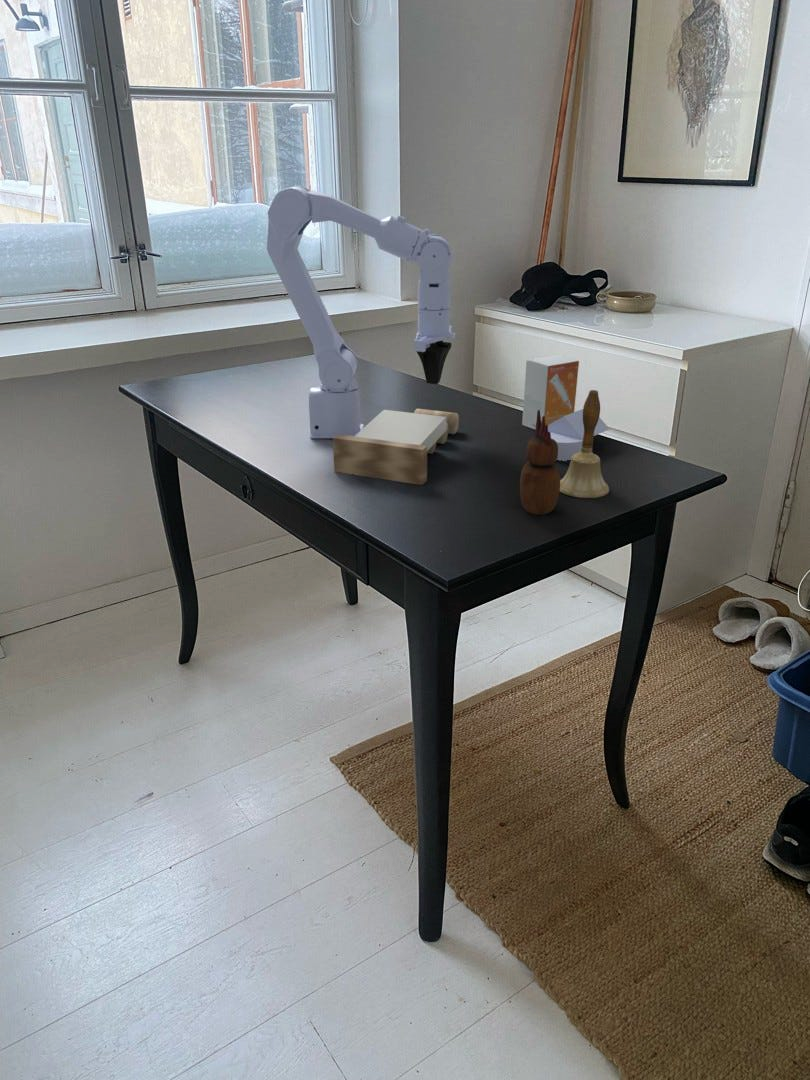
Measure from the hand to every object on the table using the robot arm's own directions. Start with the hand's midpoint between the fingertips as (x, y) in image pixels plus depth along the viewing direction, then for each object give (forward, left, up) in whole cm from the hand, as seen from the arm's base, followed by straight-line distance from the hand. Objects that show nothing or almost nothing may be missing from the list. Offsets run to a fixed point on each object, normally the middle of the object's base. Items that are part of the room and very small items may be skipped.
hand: (433, 382), depth 152 cm
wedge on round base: (+24, -8, -10) cm, 28 cm away
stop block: (-8, -23, -10) cm, 26 cm away
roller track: (-3, -8, -10) cm, 13 cm away
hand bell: (+24, -27, -10) cm, 38 cm away
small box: (+22, +6, -10) cm, 25 cm away
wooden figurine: (+16, -36, -10) cm, 41 cm away
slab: (-5, -15, -6) cm, 17 cm away
